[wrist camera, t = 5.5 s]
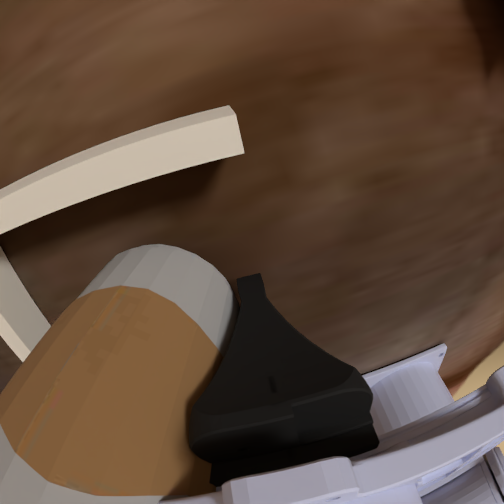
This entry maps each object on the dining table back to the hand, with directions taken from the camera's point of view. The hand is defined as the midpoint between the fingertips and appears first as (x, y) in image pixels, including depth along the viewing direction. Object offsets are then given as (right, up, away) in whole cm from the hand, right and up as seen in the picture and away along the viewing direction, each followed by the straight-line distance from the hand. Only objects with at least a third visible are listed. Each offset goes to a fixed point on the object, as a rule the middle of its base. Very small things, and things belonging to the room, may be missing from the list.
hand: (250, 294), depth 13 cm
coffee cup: (-3, 0, +1) cm, 3 cm away
